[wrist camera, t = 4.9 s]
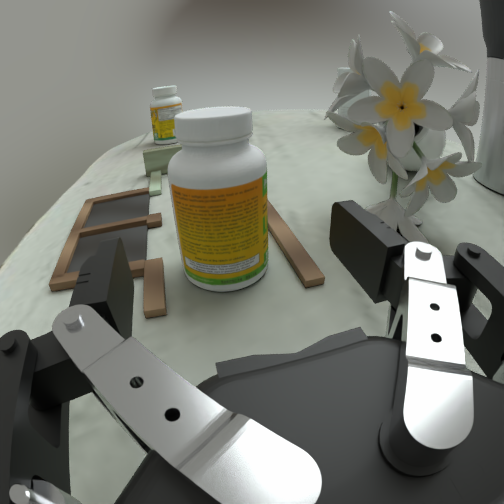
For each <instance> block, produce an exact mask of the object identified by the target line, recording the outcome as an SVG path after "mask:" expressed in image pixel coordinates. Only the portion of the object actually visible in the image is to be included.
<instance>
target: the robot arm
mask: <svg viewBox="0 0 504 504" xmlns="http://www.w3.org/2000/svg"><path fill="white" fill-rule="evenodd" d="M480 8H481V17H482V29H483V37H484V41H485V43H486V47H487V76H486V89H485V101H484V110H483V119H482V126H481V134H480V140H479V146H478V152H477V158H476V162H481V163H482V167H481V168H480V169H479V170H477V171H476V172H474V174H473V175H474V177H475V179H476V180H477V181H479V182H480V183H481V184H483V185H485V186H486V187H488V188H490V189H492V190H494V191H496V192H499V193H501V194H504V0H480ZM329 239H330V246H331V249H332V251H333V253H334V254H335V255H336V257H337V258H338V259H339V260H340V261H341V263H342V264H343V265H344V266H345V267H346V269H347V270H348V271H349V272H350V273H351V275H352V276H353V277H354V278H355V279H356V281H357V282H358V283H359V284H360V286H361V287H362V288H363V289H364V290H365V292H366V293H367V294H368V295H369V297H370V298H371V299H372V300H373V302H374V303H375V304H376V303H379V302H382V301H386V300H388V301H389V302H390V306H389V310H388V319H387V327H386V335H385V337H379V336H366V335H365V333H364V332H363V330H362V329H361V327H358V328H355V329H351V330H348V331H345V332H341V333H338V334H334V335H331V336H328V337H326V338H324V339H322V340H320V341H319V342H317V343H315V344H313V345H311V346H309V347H307V348H305V349H304V350H302V351H300V352H297V353H293V354H269V355H251V356H247V357H242V358H237V359H232V360H228V361H223V362H217V363H216V368H217V373H218V374H217V375H215V376H212V377H210V378H208V379H207V380H205V381H203V382H202V383H200V384H199V385H198V386H196V387H195V386H193V385H192V384H191V383H189V382H188V381H187V380H185V379H184V378H183V377H181V376H180V375H179V374H178V373H176V372H175V371H174V370H172V369H171V368H170V367H169V366H167V365H166V364H165V363H164V362H163V361H161V360H160V359H159V358H158V357H156V356H155V355H154V354H153V353H152V352H150V351H149V350H148V349H147V348H146V347H144V346H143V345H142V344H141V343H140V342H139V341H137V340H136V339H135V338H133V337H132V316H133V298H134V282H133V277H132V273H131V269H130V266H129V263H128V259H127V256H126V252H125V249H124V245H123V242H122V239H121V238H120V237H117V238H112V239H107V240H102V241H100V243H99V246H98V250H97V253H96V255H95V256H90V257H89V258H88V259H87V260H86V261H85V262H84V263H83V264H82V266H81V268H80V272H79V277H78V278H77V281H76V285H75V288H74V291H73V294H72V298H71V301H70V305H69V308H67V309H65V310H63V311H62V312H61V313H60V314H59V315H58V316H57V317H56V318H55V320H54V322H53V325H52V330H53V331H51V332H49V333H47V334H45V335H42V336H40V337H37V338H35V339H32V340H30V338H29V337H28V335H27V333H26V332H24V331H22V330H13V331H10V332H8V333H6V334H5V335H3V336H2V337H1V338H0V504H82V503H81V502H80V501H79V500H77V499H76V498H74V497H73V496H71V490H70V474H69V403H70V400H73V399H75V398H78V397H80V396H83V395H85V394H88V393H90V392H92V393H93V395H94V396H95V397H96V398H97V400H98V401H99V402H100V403H101V404H102V405H103V407H104V408H105V409H106V410H107V411H108V412H109V414H110V415H111V416H112V417H113V418H114V419H115V420H116V421H117V423H118V424H119V425H120V426H121V427H122V428H123V429H124V430H125V431H126V433H127V434H128V435H129V436H130V437H131V438H132V439H133V440H134V441H135V443H136V444H137V445H138V446H139V447H140V448H141V449H142V450H143V451H144V452H145V453H146V454H147V455H146V457H145V458H144V460H143V461H142V463H141V464H140V466H139V467H138V469H137V470H136V472H135V474H134V475H133V477H132V478H131V480H130V481H129V483H128V484H127V486H126V487H125V489H124V490H123V492H122V493H121V494H120V496H119V497H118V499H117V500H116V502H115V503H114V504H504V267H503V266H502V265H501V264H500V263H499V262H497V261H496V260H495V259H494V258H493V257H492V256H491V255H490V254H488V253H487V252H486V251H485V250H484V249H482V248H481V247H479V246H477V245H475V244H471V243H460V244H459V245H458V246H457V249H456V252H455V255H454V256H442V254H441V252H440V251H439V250H438V249H437V248H435V247H434V246H432V245H430V244H427V243H423V242H411V243H409V242H408V241H407V240H406V239H404V238H403V237H402V236H401V235H400V234H398V233H397V232H396V231H395V230H394V229H392V228H390V226H389V225H388V224H386V223H384V221H383V220H382V219H380V218H379V217H378V216H377V215H375V214H372V213H370V212H368V211H366V210H365V209H363V208H362V207H361V206H360V205H358V204H357V203H356V202H354V201H353V200H350V201H342V202H335V203H334V204H333V206H332V213H331V226H330V238H329ZM477 289H479V290H480V291H481V292H482V293H483V294H484V295H485V296H486V297H487V298H488V299H489V300H490V302H491V305H492V314H491V316H490V318H489V320H487V319H486V318H485V317H484V316H483V315H482V313H481V312H480V311H479V310H478V309H477V308H476V307H475V306H474V305H473V303H472V300H473V298H474V296H475V293H476V291H477ZM464 346H465V347H466V349H467V350H468V351H469V353H470V354H471V355H472V357H473V358H474V359H475V361H476V362H477V363H478V365H479V366H480V368H481V369H482V370H483V372H484V373H485V375H486V376H487V377H488V378H487V377H485V376H482V375H480V374H477V373H475V372H473V371H470V370H469V369H467V368H466V366H465V356H464Z"/></svg>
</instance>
